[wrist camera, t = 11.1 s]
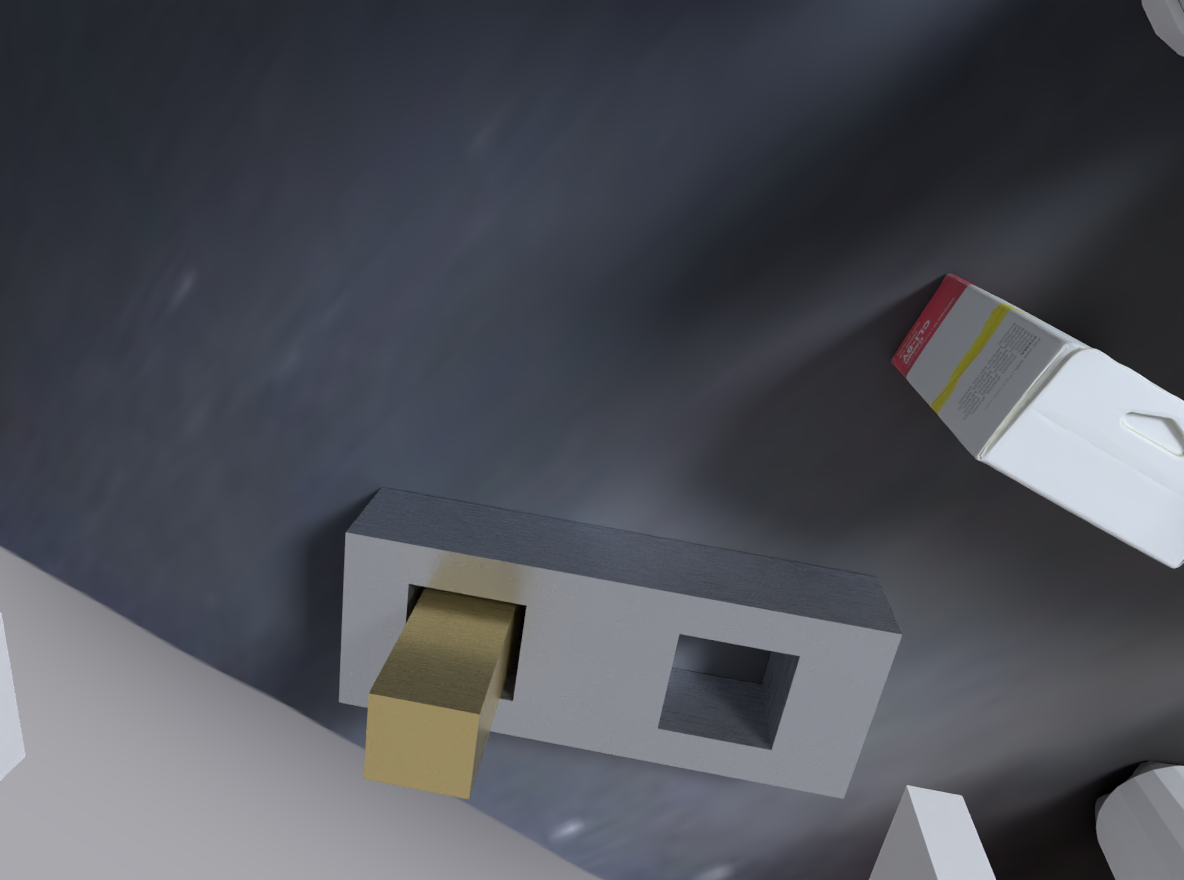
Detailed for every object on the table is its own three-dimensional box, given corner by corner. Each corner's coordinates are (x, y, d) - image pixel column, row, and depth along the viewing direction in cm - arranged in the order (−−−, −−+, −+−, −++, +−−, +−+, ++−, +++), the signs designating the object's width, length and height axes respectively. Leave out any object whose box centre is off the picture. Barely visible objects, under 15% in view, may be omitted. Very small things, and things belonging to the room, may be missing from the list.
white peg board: (381, 487, 42) (345, 532, 38) (877, 576, 41) (902, 634, 37) (372, 643, 46) (338, 702, 41) (826, 729, 45) (843, 798, 41)
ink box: (882, 362, 37) (968, 462, 26) (949, 267, 36) (1070, 332, 25) (1037, 447, 38) (1182, 579, 27) (1110, 359, 36) (1297, 462, 25)
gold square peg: (447, 545, 43) (368, 693, 32) (530, 561, 43) (479, 714, 32) (441, 616, 45) (363, 778, 34) (520, 630, 45) (469, 799, 34)
